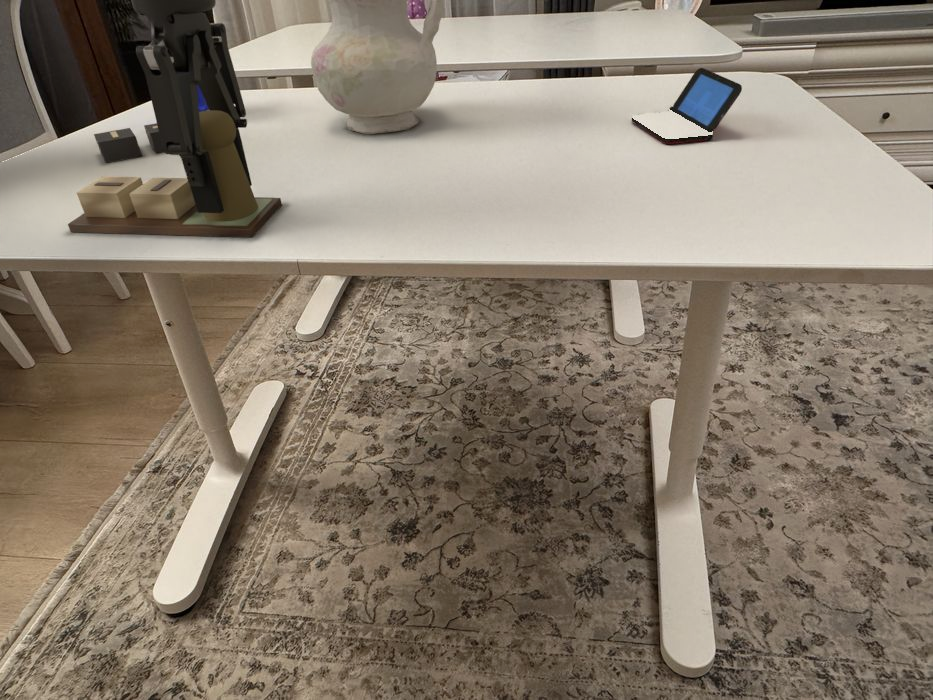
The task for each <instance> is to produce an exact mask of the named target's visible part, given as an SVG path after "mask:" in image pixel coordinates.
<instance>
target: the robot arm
mask: <svg viewBox="0 0 933 700" xmlns="http://www.w3.org/2000/svg"><path fill="white" fill-rule="evenodd" d="M130 1H131V5H132V7H133V10H134V12H136V13H137V14H138V15H140V16H144V17H146V18H147V19H148V20H149V24H150V37H151V42H150V43H149V44H148V45H137V46H136V47H135V54H136V57H137V59H138V62H139V64H140V66H141V68H142V70H143V73H144V75H145V79H146V84H147V88H148V93H149V97H150V99H151V104H152V108H153V112H154V113H153V114H154V117H155V121H156V123H157V125H158V130H159V134H160V138H161V142H162V146H163V150H164V152H163V153H165V154H166V155H170V156H179V157H180V159H181V162H182V165H183V170H184V173H185V176H186V178H187V179H188V182H189V184H190V188H191V191H192V194H193V198H194V201H195V205H196V208H197V211H198V213H222V212H223V211H224V208H223V204H222V201H221V197H220V193H219V189H218V186H217V182H216V178H215V174H214V171H213V167H212V163H211V159H210V156H209V152H208V151H202V138H201V127H200V116H199V105H198V94H197V84H198V86H199V88H200V91H201V93H202V95H203V97H204V99H205V101H206V103H207V106H208V108H209V110H218V111H223V112H225V113H228V114H229V115H230V117H231V118H232V119H233V121H234V123H235V127H236V137H235V139H234V144H235V147H236V150H237V152H238V155H239V157H240V160H241V163H242V165H243V168H244V171H245V173H246V176H247V178H248V181H249V184H250V186H251V187H252V185H253V183H252V179H251V175H250V171H249V166H248V163H247V157H246V153H245V150H244V145H243V142H242V136H241V132H240V129H244V128H245V129H246V128H247V126H248V121H247V118H245V117H246V115H247V112H246V106H245V103H244V99H243V96H242V93H241V90H240V89H241V88H240V86H239V82H238V78H237V74H236V70H235V68H234V64H233V60H232V57H231V52H230V49H229V45H228V36H227V29H226V25H225V24H224V23H223V22H217V23H216V22H215V23H214V22H213V23H210V20H209V19H208V16H207V15H206V11H207V12H208V11H210V10H212V9H214V8H215V6H216V4H217V3H216V0H130Z"/></svg>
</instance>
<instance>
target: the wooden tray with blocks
mask: <svg viewBox="0 0 933 700" xmlns="http://www.w3.org/2000/svg"><path fill="white" fill-rule="evenodd" d="M76 196H77V198H78V201H79V203H80V206H81V208H82V210H83V213H82V214H81V215H79V216H77V217H76V218H74V219H73V220H72V221H70V222H69V223H67V226H68V229H69V232H70V233H87V234H88V233H93V234H95V233H96V234H121V235H122V234H124V235H125V234H126V235H155V236H156V235H159V236H161V235H162V236H191V237H221V238H222V237H225V238H227V237H228V238H229V237H230V238H253V237H254V236H256V234H257V233H259V231H260V230H261V229H262V228H263V226H264V225H265V224H267V223H268V221H269V220H271V218H272V217H273V216H274V215H275V214H276V213H277V212H278V210H279V209H280V208H281V207H282V206H283V203H282V202H283V201H282V198H281V197H266V196H265V197H263V196H262V197H261V196H260V197H259V196H254V197H255V199H256V202H257V205H258V209H257V211H256V212H255V213H253V214H252V215H250V216H248V217H245V218H242V219H238V220H233V221H212V220H209V219H207V218H206V217H205V215H204V213H198V211H197V208H196V205H195V201H194V198H193V194H192V191H191V188H190V184H189V182H188V179H187V177H151V178H150V179H148V180H147V181H145V182H144V183H143V180H142V178H141V176H101V177H99V178H97V179H96V180H94V181H93V182H91V183H89V184H88V185H86V186H84V187H83V188H81V189H79V190H78V191H76Z"/></svg>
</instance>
